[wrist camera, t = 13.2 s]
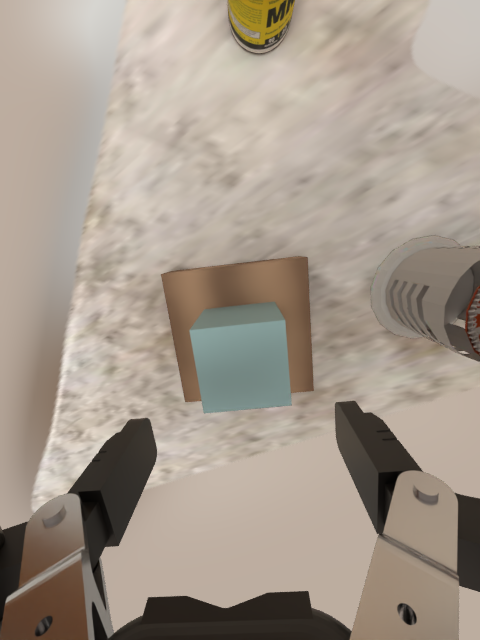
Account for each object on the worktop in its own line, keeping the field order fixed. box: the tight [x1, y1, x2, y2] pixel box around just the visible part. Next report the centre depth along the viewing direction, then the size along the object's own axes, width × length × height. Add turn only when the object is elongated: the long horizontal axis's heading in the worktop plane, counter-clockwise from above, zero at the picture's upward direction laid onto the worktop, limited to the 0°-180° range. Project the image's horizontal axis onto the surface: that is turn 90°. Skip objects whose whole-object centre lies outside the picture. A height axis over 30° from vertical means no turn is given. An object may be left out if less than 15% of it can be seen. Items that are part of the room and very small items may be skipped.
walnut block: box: [161, 256, 314, 402], centre depth 25 cm, size 12×12×4 cm
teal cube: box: [189, 302, 292, 413], centre depth 20 cm, size 6×6×6 cm
